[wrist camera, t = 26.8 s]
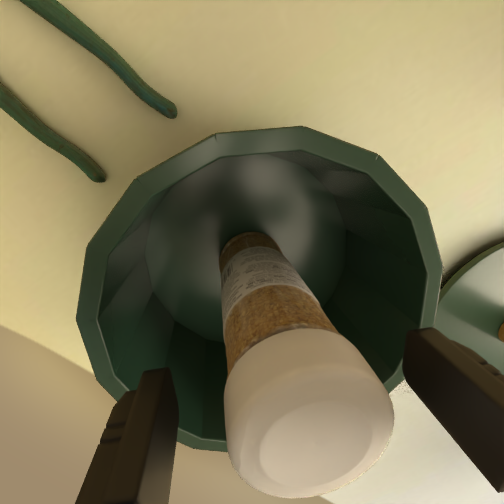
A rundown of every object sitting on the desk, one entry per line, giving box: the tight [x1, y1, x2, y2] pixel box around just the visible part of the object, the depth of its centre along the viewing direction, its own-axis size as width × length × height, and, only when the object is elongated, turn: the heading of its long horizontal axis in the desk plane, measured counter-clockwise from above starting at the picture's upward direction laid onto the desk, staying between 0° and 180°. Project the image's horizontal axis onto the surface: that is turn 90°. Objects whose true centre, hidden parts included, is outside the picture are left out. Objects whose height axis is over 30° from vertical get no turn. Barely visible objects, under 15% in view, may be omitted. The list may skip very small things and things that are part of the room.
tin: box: [76, 126, 443, 452], centre depth 16 cm, size 16×16×8 cm
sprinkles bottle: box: [219, 232, 394, 498], centre depth 13 cm, size 5×5×14 cm
